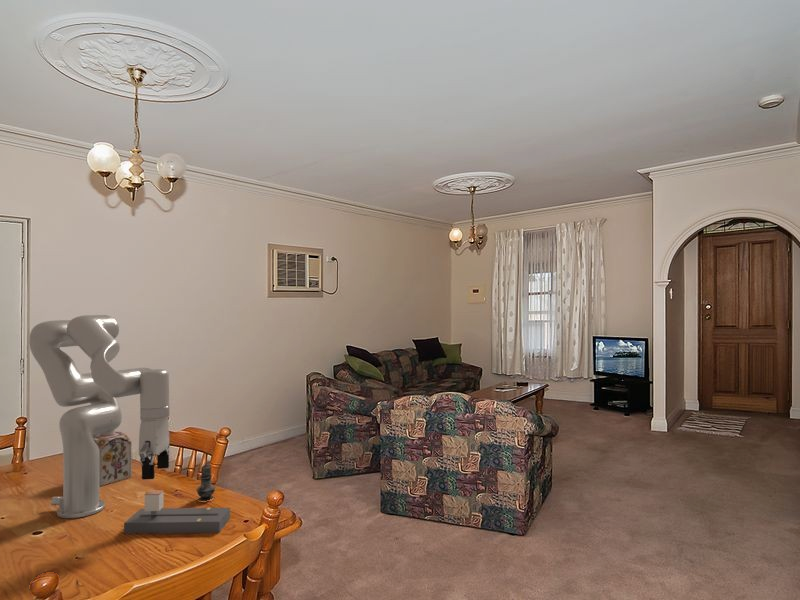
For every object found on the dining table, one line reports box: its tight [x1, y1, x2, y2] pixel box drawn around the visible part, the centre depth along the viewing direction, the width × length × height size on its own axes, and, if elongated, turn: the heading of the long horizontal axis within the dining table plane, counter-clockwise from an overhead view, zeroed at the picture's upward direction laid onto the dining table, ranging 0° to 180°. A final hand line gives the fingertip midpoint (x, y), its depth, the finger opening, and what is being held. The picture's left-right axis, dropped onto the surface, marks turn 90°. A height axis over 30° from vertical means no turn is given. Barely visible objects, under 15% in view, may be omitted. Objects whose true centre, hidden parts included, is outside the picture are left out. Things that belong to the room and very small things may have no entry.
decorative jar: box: [92, 429, 133, 487], centre depth 189 cm, size 12×12×18 cm
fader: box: [144, 489, 165, 515], centre depth 149 cm, size 4×3×6 cm
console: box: [123, 507, 231, 535], centre depth 150 cm, size 26×10×3 cm, turn 92°
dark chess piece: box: [196, 462, 216, 501], centre depth 170 cm, size 6×6×12 cm
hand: (155, 473), depth 149 cm, fingers open, 9 cm apart
